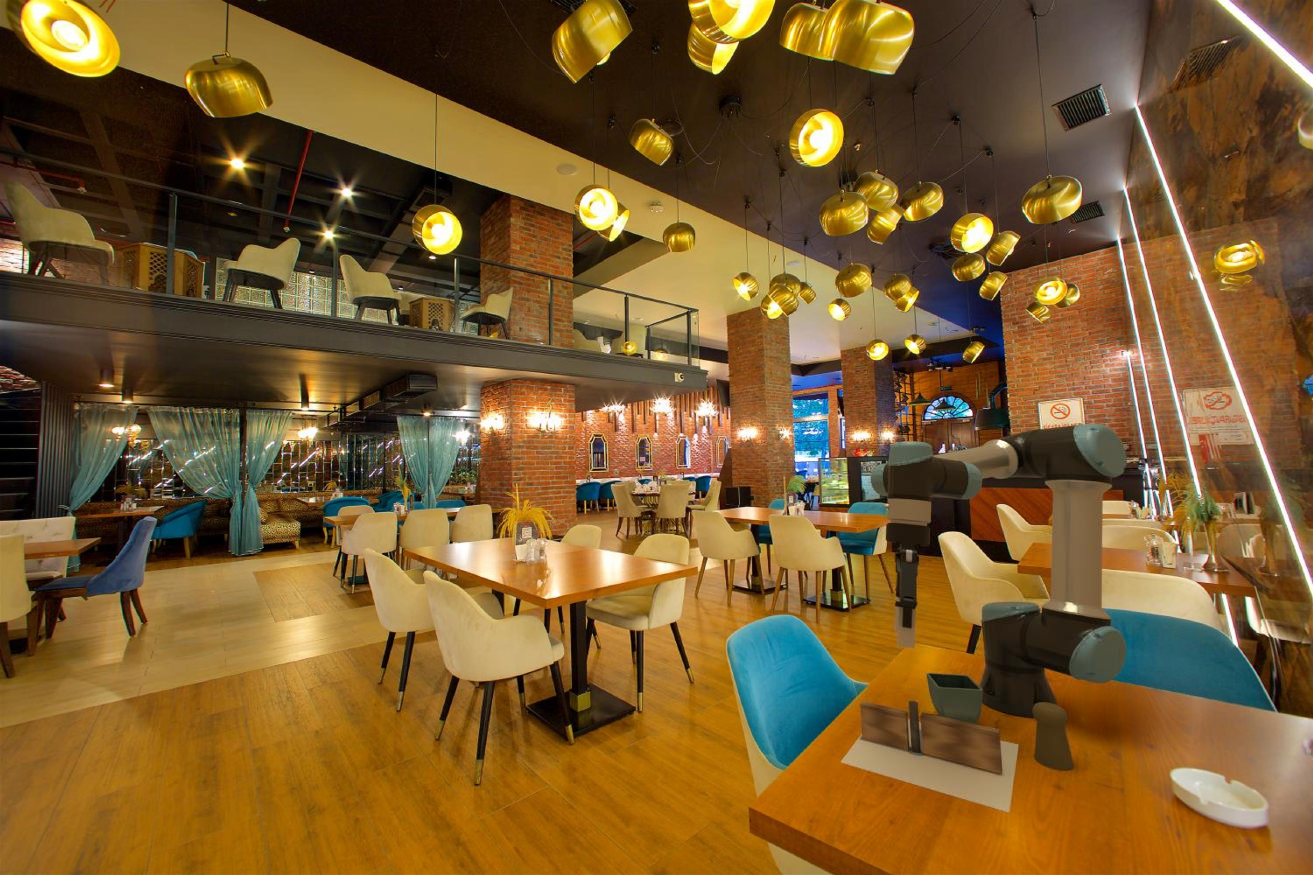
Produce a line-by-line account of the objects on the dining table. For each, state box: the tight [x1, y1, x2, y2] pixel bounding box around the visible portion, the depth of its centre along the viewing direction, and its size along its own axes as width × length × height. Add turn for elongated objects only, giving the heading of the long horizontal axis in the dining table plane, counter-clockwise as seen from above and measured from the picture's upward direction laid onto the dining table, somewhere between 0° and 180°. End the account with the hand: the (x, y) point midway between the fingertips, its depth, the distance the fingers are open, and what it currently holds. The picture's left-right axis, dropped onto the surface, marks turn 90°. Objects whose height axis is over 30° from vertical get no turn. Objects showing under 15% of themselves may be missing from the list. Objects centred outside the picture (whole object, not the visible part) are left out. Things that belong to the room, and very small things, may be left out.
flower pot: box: [925, 672, 983, 724], centre depth 114 cm, size 9×9×9 cm
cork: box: [1032, 702, 1075, 772], centre depth 96 cm, size 6×6×11 cm
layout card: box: [840, 718, 1019, 814], centre depth 99 cm, size 26×26×1 cm
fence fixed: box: [859, 700, 921, 753], centre depth 103 cm, size 11×2×9 cm, turn 53°
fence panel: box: [919, 711, 1003, 774], centre depth 96 cm, size 12×2×7 cm, turn 53°
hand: (903, 639), depth 97 cm, fingers open, 13 cm apart
